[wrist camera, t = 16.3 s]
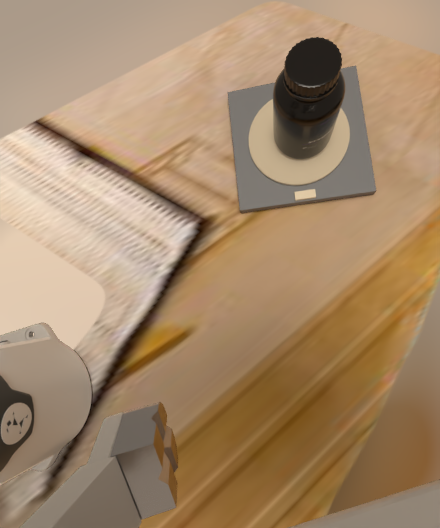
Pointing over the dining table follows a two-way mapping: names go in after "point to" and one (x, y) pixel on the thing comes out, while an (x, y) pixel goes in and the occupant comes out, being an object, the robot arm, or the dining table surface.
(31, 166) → the dining table surface
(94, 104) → the dining table surface
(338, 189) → the slate board
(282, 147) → the supplement bottle
